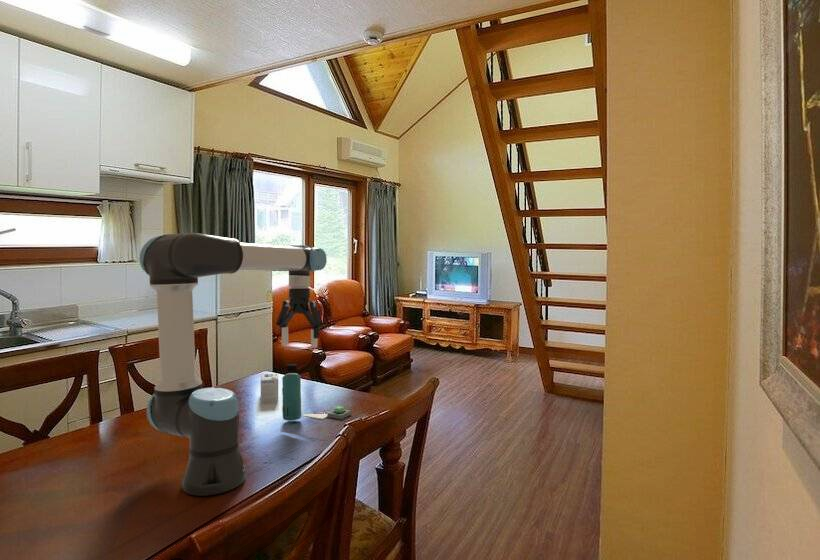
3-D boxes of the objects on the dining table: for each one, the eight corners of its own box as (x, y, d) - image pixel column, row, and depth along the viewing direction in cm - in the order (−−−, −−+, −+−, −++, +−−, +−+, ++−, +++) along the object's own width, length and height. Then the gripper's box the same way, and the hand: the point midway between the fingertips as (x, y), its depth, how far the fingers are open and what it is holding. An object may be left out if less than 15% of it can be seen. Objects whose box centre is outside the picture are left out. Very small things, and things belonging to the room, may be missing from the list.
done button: (340, 413, 161) (340, 409, 161) (332, 412, 163) (332, 408, 163) (345, 411, 164) (345, 407, 164) (338, 409, 166) (338, 405, 166)
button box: (341, 419, 160) (341, 415, 160) (327, 417, 162) (327, 412, 162) (350, 414, 165) (350, 410, 165) (337, 412, 168) (337, 408, 168)
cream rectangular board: (322, 419, 160) (322, 418, 160) (295, 414, 165) (295, 413, 165) (348, 407, 174) (348, 406, 174) (323, 403, 179) (323, 402, 179)
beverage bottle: (304, 419, 160) (303, 362, 160) (297, 425, 153) (297, 366, 153) (286, 418, 161) (285, 362, 160) (279, 425, 154) (278, 366, 154)
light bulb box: (260, 400, 184) (260, 374, 184) (278, 399, 186) (277, 373, 186) (260, 408, 174) (260, 379, 174) (278, 406, 176) (278, 378, 176)
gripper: (333, 287, 164) (333, 347, 164) (280, 287, 175) (280, 342, 175) (320, 288, 157) (320, 349, 157) (266, 287, 168) (266, 345, 168)
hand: (299, 346), depth 166 cm, fingers open, 13 cm apart
